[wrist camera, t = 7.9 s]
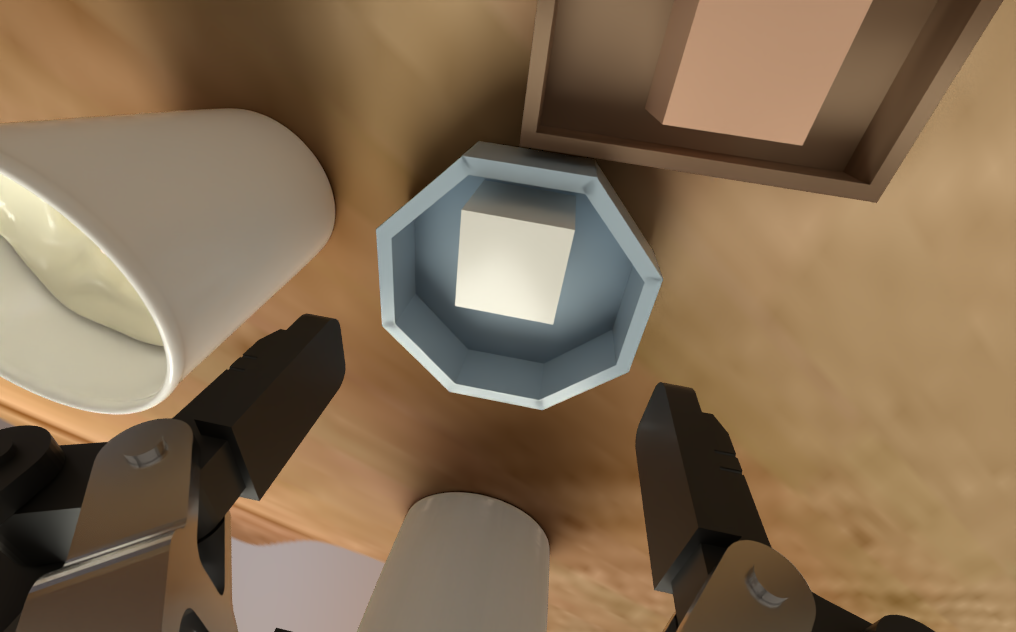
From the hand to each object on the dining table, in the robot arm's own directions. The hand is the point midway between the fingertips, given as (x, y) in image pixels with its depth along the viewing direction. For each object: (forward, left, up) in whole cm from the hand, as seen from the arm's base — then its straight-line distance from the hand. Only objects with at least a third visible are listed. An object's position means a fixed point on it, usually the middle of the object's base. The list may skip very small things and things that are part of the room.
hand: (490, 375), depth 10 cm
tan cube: (-8, +6, -12) cm, 16 cm away
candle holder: (+1, -15, -13) cm, 20 cm away
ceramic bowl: (+3, 0, -13) cm, 13 cm away
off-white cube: (+1, 0, -12) cm, 12 cm away
